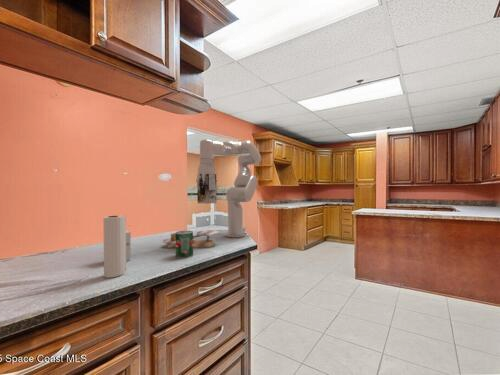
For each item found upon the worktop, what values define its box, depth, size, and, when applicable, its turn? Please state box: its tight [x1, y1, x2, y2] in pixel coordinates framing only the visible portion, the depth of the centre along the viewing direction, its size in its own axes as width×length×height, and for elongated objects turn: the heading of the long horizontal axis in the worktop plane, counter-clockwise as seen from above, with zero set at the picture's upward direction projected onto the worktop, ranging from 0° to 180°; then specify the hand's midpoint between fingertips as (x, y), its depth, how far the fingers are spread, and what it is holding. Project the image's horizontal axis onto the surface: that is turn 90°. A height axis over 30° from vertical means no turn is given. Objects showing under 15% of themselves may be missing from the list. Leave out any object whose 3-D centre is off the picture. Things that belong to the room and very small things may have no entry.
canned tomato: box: [175, 230, 194, 259], centre depth 113 cm, size 8×8×11 cm
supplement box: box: [126, 230, 132, 262], centre depth 106 cm, size 7×7×13 cm
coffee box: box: [196, 173, 218, 204], centre depth 136 cm, size 9×6×16 cm
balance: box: [162, 229, 220, 249], centre depth 134 cm, size 30×12×7 cm, turn 94°
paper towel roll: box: [103, 215, 127, 279], centre depth 89 cm, size 7×6×21 cm
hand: (207, 194), depth 136 cm, fingers closed on coffee box, 6 cm apart
